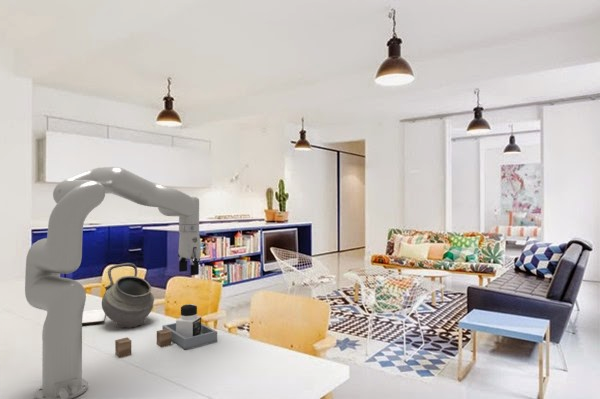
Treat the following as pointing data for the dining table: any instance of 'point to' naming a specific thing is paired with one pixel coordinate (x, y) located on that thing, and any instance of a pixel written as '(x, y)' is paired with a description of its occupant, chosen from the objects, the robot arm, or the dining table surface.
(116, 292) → the pot
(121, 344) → the left walnut block
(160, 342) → the right walnut block
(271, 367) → the dining table surface
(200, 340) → the tray
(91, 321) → the plate
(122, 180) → the robot arm
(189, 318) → the medicine bottle
